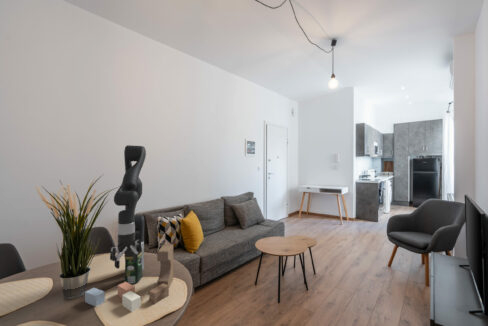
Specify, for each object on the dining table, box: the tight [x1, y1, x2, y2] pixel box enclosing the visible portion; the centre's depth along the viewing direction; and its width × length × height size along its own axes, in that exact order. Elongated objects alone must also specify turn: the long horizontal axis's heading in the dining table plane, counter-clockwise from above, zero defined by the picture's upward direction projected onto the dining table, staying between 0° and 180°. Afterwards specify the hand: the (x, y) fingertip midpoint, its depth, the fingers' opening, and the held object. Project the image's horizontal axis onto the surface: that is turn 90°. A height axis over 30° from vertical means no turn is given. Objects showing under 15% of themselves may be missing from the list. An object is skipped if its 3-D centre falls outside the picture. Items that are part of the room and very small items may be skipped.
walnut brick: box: [148, 283, 170, 305], centre depth 110 cm, size 8×4×5 cm, turn 149°
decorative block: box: [156, 243, 174, 288], centre depth 122 cm, size 11×6×20 cm, turn 2°
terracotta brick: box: [117, 281, 136, 298], centre depth 112 cm, size 8×4×5 cm, turn 57°
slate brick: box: [84, 287, 106, 307], centre depth 107 cm, size 8×4×5 cm, turn 66°
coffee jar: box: [123, 245, 143, 285], centre depth 126 cm, size 10×8×19 cm
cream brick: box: [121, 291, 142, 313], centre depth 104 cm, size 8×4×5 cm, turn 56°
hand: (126, 264), depth 112 cm, fingers open, 8 cm apart
